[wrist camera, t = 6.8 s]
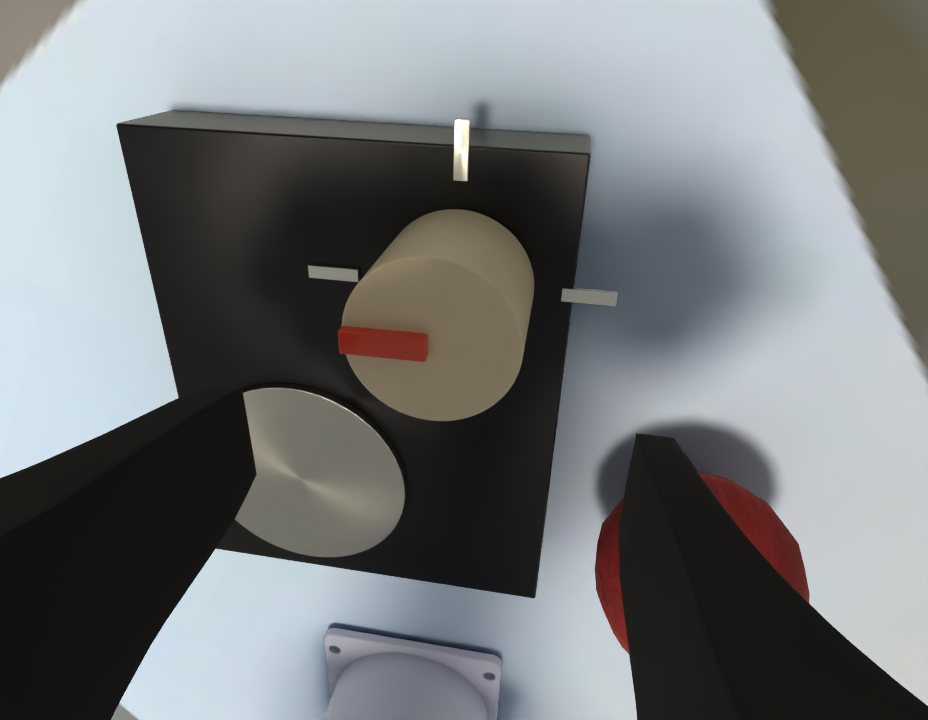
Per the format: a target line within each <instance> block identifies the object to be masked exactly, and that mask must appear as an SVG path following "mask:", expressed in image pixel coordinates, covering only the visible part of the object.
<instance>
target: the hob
mask: <svg viewBox="0 0 928 720" xmlns="http://www.w3.org/2000/svg"><path fill="white" fill-rule="evenodd" d="M470 125H471V120H470V119H461V118H456V119H455V120H454V127H440V126H423V125H407V124H390V123H373V122H356V121H339V120H323V119H306V118H289V117H272V116H255V115H239V114H222V113H205V112H188V111H167V112H163V113H159V114H155V115H150V116H146V117H142V118H138V119H134V120H130V121H126V122H121V123H118V124H117V130H118V135H119V139H120V143H121V148H122V152H123V157H124V161H125V165H126V170H127V174H128V178H129V183H130V187H131V191H132V196H133V200H134V204H135V209H136V213H137V218H138V222H139V226H140V231H141V235H142V239H143V244H144V248H145V252H146V257H147V261H148V265H149V270H150V274H151V279H152V283H153V287H154V292H155V296H156V300H157V305H158V309H159V313H160V318H161V322H162V326H163V331H164V335H165V340H166V344H167V348H168V353H169V357H170V361H171V366H172V370H173V374H174V379H175V383H176V387H177V392H178V396H179V398H180V397H182V396H184V395H186V394H189V393H191V392H193V391H196V390H198V389H200V388H203V387H206V386H208V385H211V384H215V385H224V386H232V387H241V388H242V390H244V389H246V388H249V387H252V386H257V385H262V384H270V383H288V384H297V385H303V386H308V387H312V388H315V389H319V390H322V391H324V392H327V393H329V394H332V395H334V396H337V397H338V398H340V399H342V400H344V401H346V402H348V403H350V404H351V405H353V406H354V407H356V408H357V409H359V410H360V411H362V412H363V413H364V414H365V415H366V416H368V417H369V418H370V419H371V420H372V421H373V422H374V423H375V424H376V425H377V426H378V427H379V428H380V429H381V430H382V431H383V432H384V433H385V435H386V436H387V437H388V439H389V440H390V441H391V443H392V444H393V446H394V448H395V450H396V451H397V453H398V455H399V457H400V460H401V462H402V465H403V468H404V472H405V476H406V483H407V496H406V502H405V507H404V510H403V513H402V515H401V518H400V520H399V522H398V524H397V525H396V527H395V528H394V530H393V531H392V532H391V533H390V534H389V535H388V536H387V537H386V538H385V539H384V540H383V541H381V542H380V543H379V544H377V545H376V546H374V547H372V548H370V549H368V550H366V551H363V552H360V553H357V554H353V555H348V556H341V557H317V556H309V555H304V554H299V553H296V552H292V551H289V550H286V549H283V548H281V547H278V546H276V545H273V544H271V543H269V542H267V541H265V540H263V539H261V538H260V537H258V536H257V535H255V534H253V533H252V532H250V531H249V530H248V529H246V528H245V527H244V526H242V525H241V524H240V523H239V522H237V521H236V520H234V521H233V523H232V524H231V526H230V527H229V529H228V530H227V532H226V534H225V535H224V536H223V538H222V539H221V541H220V542H219V544H218V545H217V547H216V548H215V549H222V550H228V551H235V552H241V553H247V554H254V555H260V556H267V557H273V558H280V559H286V560H292V561H299V562H305V563H312V564H318V565H324V566H331V567H337V568H344V569H350V570H356V571H363V572H369V573H376V574H382V575H388V576H395V577H401V578H408V579H414V580H420V581H427V582H433V583H440V584H446V585H452V586H459V587H465V588H472V589H478V590H485V591H491V592H497V593H504V594H510V595H517V596H523V597H529V598H535V596H536V588H537V580H538V572H539V564H540V556H541V548H542V540H543V532H544V524H545V516H546V508H547V500H548V492H549V484H550V476H551V468H552V460H553V452H554V444H555V436H556V428H557V420H558V412H559V404H560V396H561V388H562V380H563V372H564V364H565V356H566V348H567V340H568V332H569V324H570V316H571V308H572V302H574V303H584V304H595V305H606V306H616V303H617V297H618V292H617V291H606V290H595V289H584V288H574V284H575V276H576V268H577V260H578V252H579V244H580V236H581V228H582V220H583V212H584V204H585V196H586V188H587V179H588V171H589V163H590V137H589V136H588V135H574V134H558V133H541V132H524V131H507V130H491V129H474V128H470ZM447 209H460V210H468V211H472V212H476V213H480V214H482V215H485V216H487V217H490V218H491V219H493V220H495V221H497V222H498V223H500V224H501V225H503V226H504V227H505V228H507V229H508V230H509V231H510V232H511V233H512V234H513V235H514V236H515V237H516V238H517V240H518V241H519V242H520V244H521V245H522V247H523V248H524V250H525V252H526V253H527V256H528V258H529V260H530V263H531V266H532V270H533V275H534V296H533V302H532V308H531V314H530V319H529V325H528V330H527V336H526V342H525V347H524V353H523V358H522V364H521V367H520V370H519V373H518V375H517V377H516V380H515V382H514V383H513V385H512V386H511V388H510V389H509V391H508V392H507V393H506V394H505V395H504V396H503V397H502V398H501V399H500V400H499V401H498V402H497V403H495V404H494V405H493V406H491V407H490V408H488V409H486V410H485V411H483V412H481V413H479V414H476V415H474V416H471V417H468V418H464V419H459V420H453V421H431V420H425V419H419V418H416V417H412V416H409V415H406V414H404V413H401V412H399V411H397V410H395V409H393V408H391V407H389V406H388V405H386V404H385V403H383V402H382V401H380V400H379V399H378V398H376V397H375V396H374V395H373V394H372V393H371V392H370V391H369V390H368V389H367V388H366V387H365V386H364V385H363V384H362V383H361V381H360V380H359V379H358V377H357V376H356V374H355V373H354V371H353V369H352V368H351V366H350V363H349V361H348V359H347V357H346V354H340V352H339V341H338V330H339V329H340V328H341V326H342V318H343V312H344V309H345V305H346V303H347V300H348V298H349V296H350V294H351V292H352V291H353V289H354V288H355V286H356V285H357V284H358V283H359V281H360V280H361V279H362V278H363V277H364V275H365V274H366V273H367V272H368V271H369V269H370V268H371V267H372V266H373V265H374V263H375V262H376V261H377V260H378V259H379V257H380V256H381V255H382V254H383V253H384V251H385V250H386V249H387V248H388V247H389V245H390V244H391V243H392V242H393V241H394V239H395V238H396V237H397V236H398V235H399V233H400V232H401V231H402V230H403V229H404V228H405V227H406V226H408V225H409V224H410V223H411V222H413V221H414V220H416V219H418V218H419V217H422V216H424V215H426V214H429V213H432V212H436V211H440V210H447Z"/></svg>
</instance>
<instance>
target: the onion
mask: <svg viewBox="0 0 928 720" xmlns="http://www.w3.org/2000/svg"><path fill="white" fill-rule="evenodd" d="M699 475H700V476H701V478H702V479H703V480H704V482H705V483H706V485H707V486H708V487H709V489H710V490H711V491H712V493H713V494H714V496H715V497H716V498H717V500H718V501H719V502H720V504H721V505H722V506H723V507H724V509H725V510H726V511H727V512H728V514H729V515H730V516H731V518H732V519H733V520H734V521H735V523H736V524H737V525H738V526H739V528H740V529H741V530H742V532H743V533H744V534H745V535H746V536H747V538H748V539H749V540H750V541H751V542H752V544H753V545H754V546H755V547H756V548H757V549H758V550H759V552H760V553H761V554H762V555H763V556H764V557H765V558H766V560H767V561H768V562H769V563H770V564H771V565H772V566H773V567H774V569H775V570H776V571H777V572H778V573H779V574H780V575H781V576H782V577H783V578H784V579H785V580H786V581H787V582H788V583H789V584H790V585H791V586H792V587H793V588H794V589H795V590H796V591H797V592H798V593H799V594H800V595H801V596H802V597H803V598H804V599H805V600H806V601H807V602H808V603H809V589H808V584H807V579H806V573H805V568H804V564H803V560H802V556H801V552H800V548H799V544H798V543H797V541H796V540H795V539H794V537H793V536H792V535H791V533H790V532H789V530H788V529H787V528H786V526H785V525H784V524H783V522H782V521H781V520H780V519H779V517H778V516H777V515H776V513H775V512H774V511H773V509H772V508H771V507H770V506H769V504H768V503H767V502H765V501H764V500H762V499H760V498H759V497H757V496H756V495H754V494H753V493H751V492H749V491H748V490H746V489H744V488H742V487H741V486H739V485H737V484H736V483H734V482H732V481H730V480H729V479H727V478H723V477H718V476H713V475H708V474H703V473H699ZM623 499H624V497H623V498H622V500H621V501H620V502H619V503H618V505H617V506H616V507H615V508H614V510H613V511H612V512H611V513H610V515H609V516H608V517H607V518H606V520H605V521H604V522H603V523H602V527H601V531H600V535H599V539H598V543H597V553H596V564H595V577H596V590H597V593H598V596H599V599H600V602H601V605H602V608H603V610H604V612H605V615H606V617H607V619H608V622H609V624H610V626H611V628H612V631H613V633H614V634H615V636H616V638H617V639H618V641H619V642H620V644H621V646H622V647H623V648H624V649H625V650H626V651H627V652H628V654H629V648H628V640H627V633H626V625H625V618H624V610H623V602H622V594H621V586H620V578H619V519H620V514H621V509H622V504H623Z"/></svg>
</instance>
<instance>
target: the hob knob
mask: <svg viewBox="0 0 928 720" xmlns="http://www.w3.org/2000/svg"><path fill="white" fill-rule="evenodd" d="M533 296H534V275H533V270H532V266H531V263H530V260H529V258H528V256H527V253H526V252H525V250H524V248H523V247H522V245H521V244H520V242H519V241H518V240H517V238H516V237H515V236H514V235H513V234H512V233H511V232H510V231H509V230H508V229H507V228H505V227H504V226H503V225H501V224H500V223H498V222H497V221H495V220H493V219H491V218H490V217H487V216H485V215H482V214H480V213H476V212H472V211H468V210H460V209H447V210H440V211H436V212H432V213H429V214H426V215H424V216H422V217H419V218H418V219H416V220H414V221H413V222H411V223H410V224H409V225H408V226H406V227H405V228H404V229H403V230H402V231H401V232H400V233H399V235H398V236H397V237H396V238H395V239H394V241H393V242H392V243H391V244H390V245H389V247H388V248H387V249H386V250H385V251H384V253H383V254H382V255H381V256H380V257H379V259H378V260H377V261H376V262H375V263H374V265H373V266H372V267H371V268H370V269H369V271H368V272H367V273H366V274H365V275H364V277H363V278H362V279H361V280H360V281H359V283H358V284H357V285H356V286H355V288H354V289H353V291H352V292H351V294H350V296H349V298H348V300H347V303H346V305H345V309H344V312H343V318H342V326H341V328H340V329H339V330H338V341H339V352H340V354H346V357H347V359H348V361H349V363H350V366H351V368H352V369H353V371H354V373H355V374H356V376H357V377H358V379H359V380H360V381H361V383H362V384H363V385H364V386H365V387H366V388H367V389H368V390H369V391H370V392H371V393H372V394H373V395H374V396H375V397H376V398H378V399H379V400H380V401H382V402H383V403H385V404H386V405H388V406H389V407H391V408H393V409H395V410H397V411H399V412H401V413H404V414H406V415H409V416H412V417H416V418H419V419H425V420H431V421H453V420H459V419H464V418H468V417H471V416H474V415H476V414H479V413H481V412H483V411H485V410H486V409H488V408H490V407H491V406H493V405H494V404H495V403H497V402H498V401H499V400H500V399H501V398H502V397H503V396H504V395H505V394H506V393H507V392H508V391H509V389H510V388H511V386H512V385H513V383H514V382H515V380H516V377H517V375H518V373H519V370H520V367H521V364H522V358H523V353H524V347H525V342H526V336H527V330H528V325H529V319H530V314H531V308H532V302H533Z"/></svg>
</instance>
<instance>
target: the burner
mask: <svg viewBox="0 0 928 720" xmlns="http://www.w3.org/2000/svg"><path fill="white" fill-rule="evenodd" d="M243 396H244V402H245V408H246V414H247V420H248V426H249V431H250V437H251V443H252V449H253V455H254V461H255V467H256V473H257V475H256V477H255V479H254V481H253V483H252V485H251V488H250V490H249V492H248V494H247V496H246V498H245V500H244V502H243V504H242V506H241V508H240V510H239V512H238V514H237V516H236V518H235V520H236V521H237V522H239V523H240V524H241V525H242V526H244V527H245V528H246V529H248V530H249V531H250V532H252V533H253V534H255V535H257V536H258V537H260V538H261V539H263V540H265V541H267V542H269V543H271V544H273V545H276V546H278V547H281V548H283V549H286V550H289V551H292V552H296V553H299V554H304V555H309V556H317V557H341V556H348V555H353V554H357V553H360V552H363V551H366V550H368V549H370V548H372V547H374V546H376V545H377V544H379V543H380V542H381V541H383V540H384V539H385V538H386V537H387V536H388V535H389V534H390V533H391V532H392V531H393V530H394V528H395V527H396V525H397V524H398V522H399V520H400V518H401V515H402V513H403V510H404V507H405V502H406V496H407V483H406V476H405V472H404V468H403V465H402V462H401V460H400V457H399V455H398V453H397V451H396V450H395V448H394V446H393V444H392V443H391V441H390V440H389V439H388V437H387V436H386V435H385V433H384V432H383V431H382V430H381V429H380V428H379V427H378V426H377V425H376V424H375V423H374V422H373V421H372V420H371V419H370V418H369V417H368V416H366V415H365V414H364V413H363V412H362V411H360V410H359V409H357V408H356V407H354V406H353V405H351V404H350V403H348V402H346V401H344V400H342V399H340V398H338V397H337V396H334V395H332V394H329V393H327V392H324V391H322V390H319V389H315V388H312V387H308V386H303V385H297V384H288V383H270V384H262V385H257V386H252V387H249V388H246V389H244V390H243Z"/></svg>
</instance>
